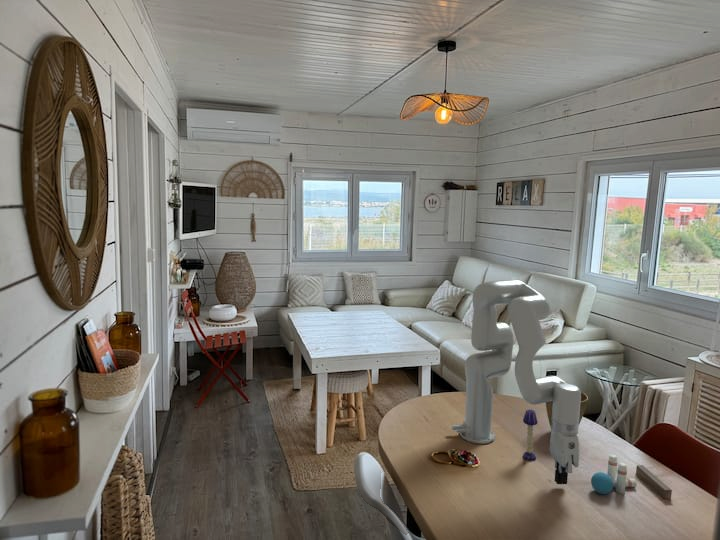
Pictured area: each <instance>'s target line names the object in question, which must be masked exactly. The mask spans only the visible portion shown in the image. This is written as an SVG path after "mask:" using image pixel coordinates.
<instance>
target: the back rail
mask: <svg viewBox="0 0 720 540" xmlns="http://www.w3.org/2000/svg"><path fill="white" fill-rule="evenodd" d="M635 469H636V470H635V475H636V476H637V477H639V478H640V479H641V480H642V481H643V482H644V483H645V484H646V485H647V486H649V487H650V488H651V489H652V490H653V491H654V492H655V493H656V494H658V495H659V496H660V497H661V498H662V499H663V500H668V501H669V500H672V494H673V492H672V491H673V490H672V489H671V487H669V486H668V485H667V484H666V483H664V482H663V481H662V480H661V479H659V478H658V477H657V475H655V474H654V473H653V472H651V471H650V470H649V469H648V468H647V467H646V466H644V465H643V464H641V465H640V464H639V465H637V464H636V468H635Z"/></svg>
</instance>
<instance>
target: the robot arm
mask: <svg viewBox="0 0 720 540" xmlns="http://www.w3.org/2000/svg"><path fill="white" fill-rule="evenodd" d="M503 305H504V306H506V305H507V307H506V308H507V313H508V317H509V320H510V322H511V325H512V326H511V327H512V328H511V327H510V325H508V324H507V323H506V322H502V321H499V322H498V317H499V316H498V311H497V308H496V306H503ZM472 309H473V310H472V311H473V314H472V325H471V334H470V336H471V337H470V339H471V341H470V342H471V346H472V347H473V349H474V350H476V351H480V352H476V353H473V354H470V355H469V356H467V357H466V359H465V361H464V373H465V381H466V383H465V384H466V386H465V412H464V413H465V414H464V421H462V423H460V424H452V425H451V430H452V431H456V433H459V434H460V435H459V436H460V437H461V438H462V439H463V440H465V441H467V442H470V443H473V444H477V445H478V444H481V445H482V444H483V445H485V444H490V443H492V442H494V441H495V438H496V433H495V432H494V431H492V416H493V397H494V393H493V392H494V390H493V387H492V384H491V383H490V381H489V379H492V378H498V377H504V376H506V375H507V374H508V373H509V371H510V370H511V366H512V359H513V349H514V336H515V339H516V342H517V345H518V351H517V353H516V356H515V363H514V376H515V380H516V384H517V387H518V390H519V392H520V394H521V397H522V398H523V400H524V401H525V402H527V403H528V404H530V405H540V404H546V402H549V401H553V410H552V424H551V427H550V430H551V429H552V431H551V433H550V439H549V452H550V454H551V456H552V457H553V458H554V468H555V469H554V482H555V483H556V484H557V485H567V484H568V478H569V477H568V476H569V474H573V466H574V468H578V467H579V461H580V459H579V458H580V443H579V442H580V441H579V435H578V434H579V427H580V424H579V415H580V402H581V392H582V391H581V389H580V388H579V387H578V386H577V385H574V384H573V383H572V384H571V383H567V382H566V381H564V380H563V379H561V378H560V377H558V376H556V375H547V376H542V377H536V376H535V374H534V369H533V368H534V366H533V361H534V359H535V357H536V354H538V352H539V350H541V349H542V348H543V347H544V346H545V344H546V337H545V334H544V331H543V329H542V326H541V322H540V321H543V320H545V319H547V318H548V316H549V315H550V312H551V311H550V310H551V309H550V304H549V302H548V300H547V298H546V297H544V296H543V294H541V293H539V292H538V291H536V290H535V289H534V288H532V287H531V286H530V285H527V284H526V283H525V282H523V281H522V280H518V279H506V280H491V281H485V282H481V283H480V284H478V285H476V287H475V288H474V290H473V292H472ZM513 332H514V334H513ZM483 351H484V352H483Z"/></svg>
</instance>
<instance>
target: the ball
mask: <svg viewBox="0 0 720 540" xmlns="http://www.w3.org/2000/svg"><path fill="white" fill-rule="evenodd" d="M590 484H591V488H592V489H593V490H594V491H595V492H597V493H598V494H602V495H608V494H610V493H611V492H612V491H613V489H614V487H613V481H612V479H611V477H610V476H609V475H607V472H606V473H605V472H602V471H600V472H596V473H594V474H593V475H592V477H591V479H590Z"/></svg>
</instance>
